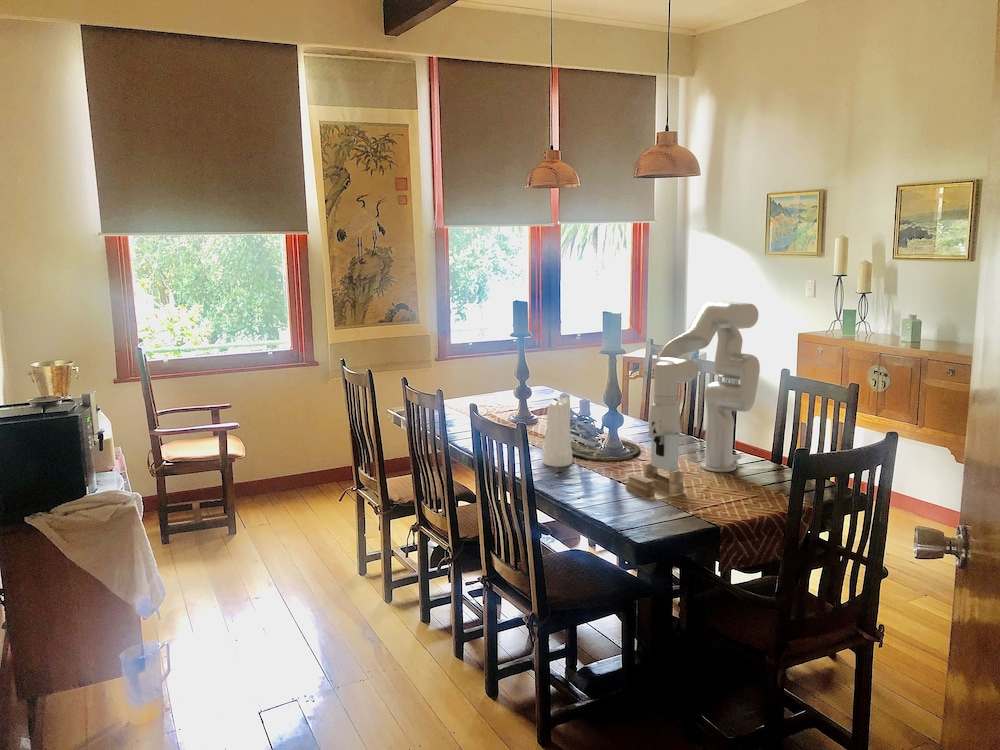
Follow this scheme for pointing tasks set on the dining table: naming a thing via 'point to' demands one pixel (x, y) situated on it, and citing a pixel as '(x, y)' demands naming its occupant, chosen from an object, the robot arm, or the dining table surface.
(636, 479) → the offcut top
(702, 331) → the robot arm
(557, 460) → the white pillar candle
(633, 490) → the block
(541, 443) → the dining table surface
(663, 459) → the white rectangular block
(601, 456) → the decorative plate
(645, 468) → the rack
